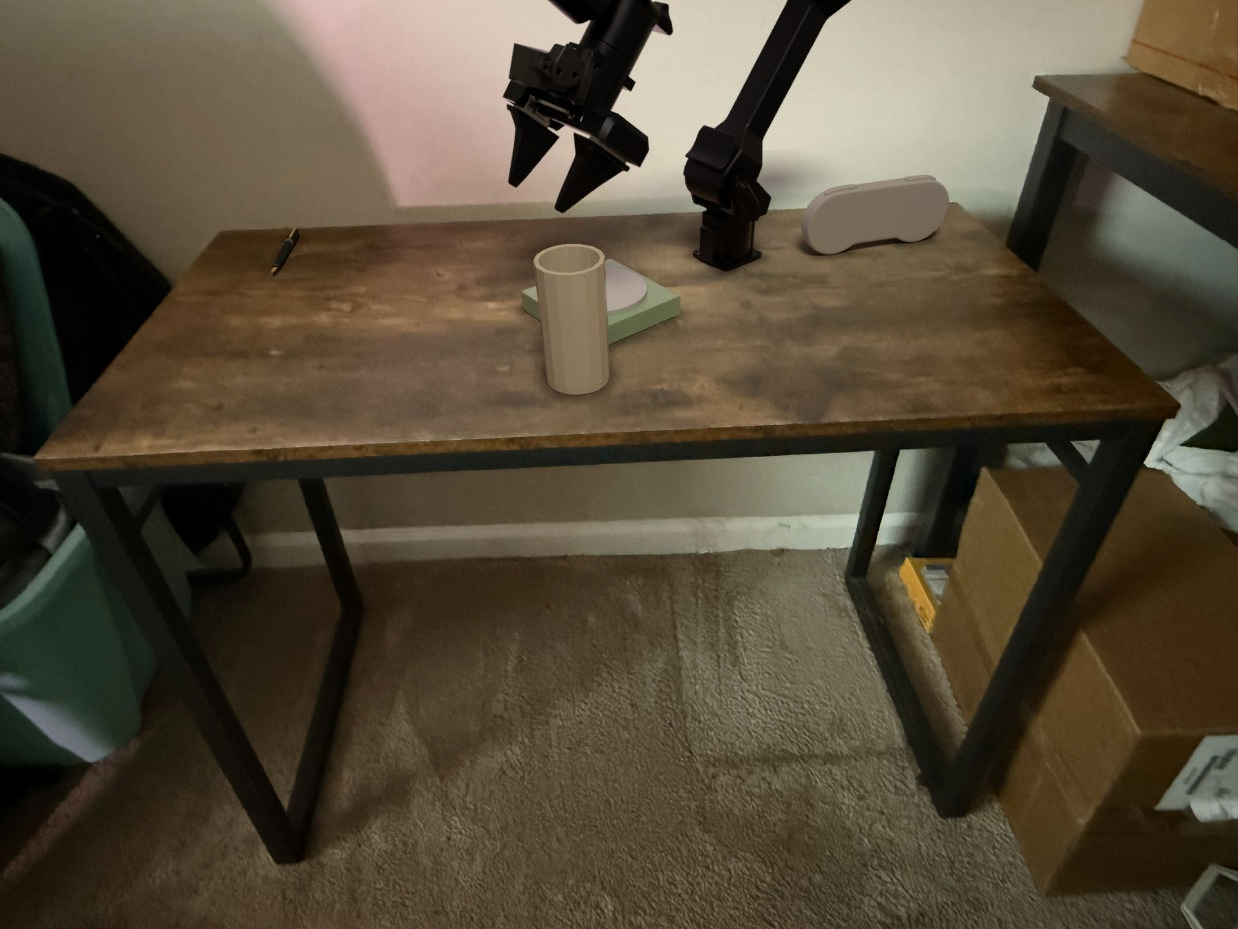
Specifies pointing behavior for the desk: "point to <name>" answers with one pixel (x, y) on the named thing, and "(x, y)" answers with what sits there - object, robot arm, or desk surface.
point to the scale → (625, 301)
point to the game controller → (874, 213)
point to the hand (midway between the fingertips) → (534, 197)
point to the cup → (573, 317)
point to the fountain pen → (285, 249)
